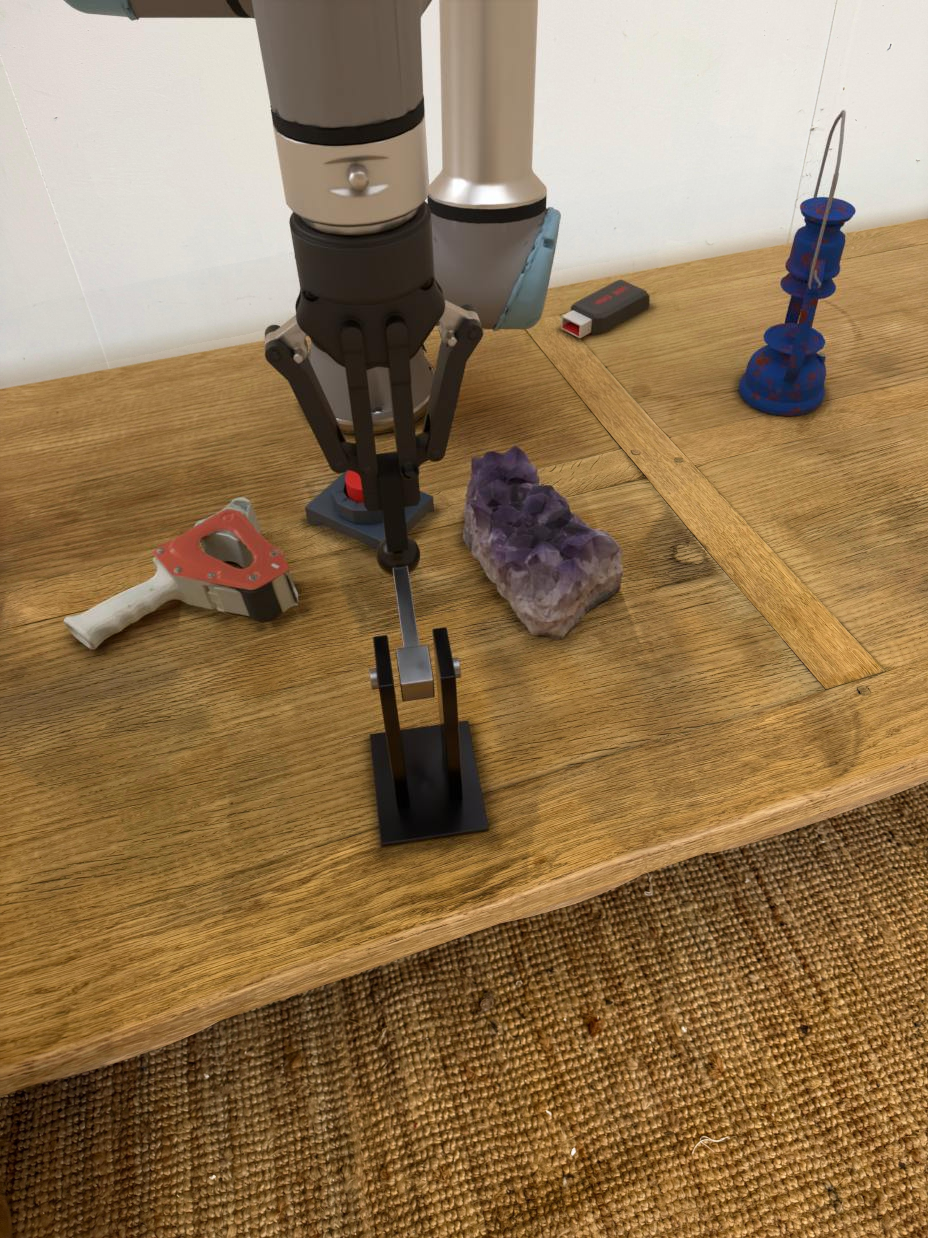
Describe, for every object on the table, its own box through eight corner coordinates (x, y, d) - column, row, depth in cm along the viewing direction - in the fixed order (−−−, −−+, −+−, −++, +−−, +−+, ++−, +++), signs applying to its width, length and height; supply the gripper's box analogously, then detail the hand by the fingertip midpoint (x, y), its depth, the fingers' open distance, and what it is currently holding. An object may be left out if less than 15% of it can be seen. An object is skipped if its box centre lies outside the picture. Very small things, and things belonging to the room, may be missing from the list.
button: (338, 494, 92) (336, 480, 90) (363, 472, 94) (361, 458, 92) (371, 508, 90) (369, 494, 89) (396, 486, 92) (394, 471, 91)
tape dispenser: (69, 662, 85) (277, 678, 81) (43, 624, 81) (261, 640, 77) (143, 526, 96) (330, 535, 92) (124, 487, 92) (318, 494, 88)
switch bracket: (371, 742, 76) (347, 609, 64) (468, 728, 76) (462, 594, 65) (382, 852, 69) (358, 725, 58) (489, 836, 70) (486, 707, 58)
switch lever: (375, 553, 70) (372, 526, 67) (418, 548, 70) (416, 521, 68) (395, 706, 63) (392, 683, 60) (442, 699, 63) (441, 676, 61)
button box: (307, 523, 94) (301, 492, 91) (356, 480, 99) (352, 449, 96) (387, 559, 90) (383, 528, 87) (434, 512, 95) (432, 481, 92)
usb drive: (649, 307, 121) (651, 287, 119) (585, 343, 116) (587, 322, 114) (618, 293, 124) (620, 273, 121) (555, 327, 118) (556, 307, 116)
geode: (418, 532, 93) (421, 444, 86) (515, 504, 98) (526, 419, 91) (530, 659, 80) (544, 568, 74) (635, 620, 85) (658, 531, 78)
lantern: (825, 423, 103) (913, 135, 81) (738, 415, 104) (801, 130, 82) (820, 370, 110) (900, 91, 88) (738, 363, 111) (796, 87, 89)
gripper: (232, 249, 46) (306, 587, 63) (493, 224, 47) (495, 563, 64) (235, 186, 51) (302, 515, 68) (470, 165, 52) (478, 494, 69)
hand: (396, 538), depth 66 cm, fingers closed
